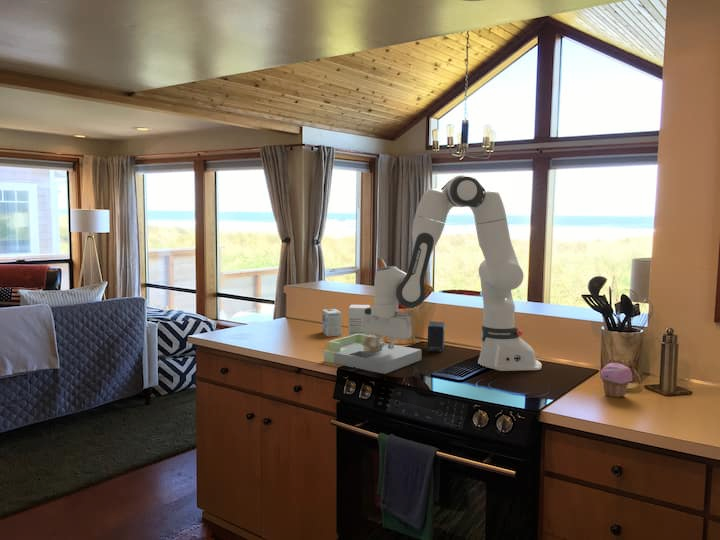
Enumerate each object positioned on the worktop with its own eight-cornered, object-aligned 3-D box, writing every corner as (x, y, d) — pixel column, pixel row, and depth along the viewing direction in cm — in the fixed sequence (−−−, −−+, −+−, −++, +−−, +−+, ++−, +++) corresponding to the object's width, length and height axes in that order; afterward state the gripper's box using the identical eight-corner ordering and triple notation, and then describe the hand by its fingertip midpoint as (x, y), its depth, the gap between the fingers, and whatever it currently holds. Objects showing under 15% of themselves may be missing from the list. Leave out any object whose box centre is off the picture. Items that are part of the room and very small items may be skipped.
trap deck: (421, 359, 216) (421, 341, 216) (385, 374, 197) (385, 354, 197) (362, 349, 233) (362, 332, 232) (323, 361, 214) (323, 342, 214)
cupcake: (609, 389, 180) (611, 358, 179) (636, 396, 173) (638, 364, 172) (594, 394, 175) (595, 362, 174) (621, 402, 168) (622, 369, 167)
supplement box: (350, 337, 256) (350, 304, 254) (370, 337, 255) (370, 304, 253) (348, 341, 247) (348, 307, 245) (368, 342, 246) (368, 307, 244)
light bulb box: (322, 332, 267) (321, 309, 266) (335, 331, 269) (335, 308, 268) (327, 336, 257) (327, 313, 256) (342, 335, 259) (342, 312, 258)
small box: (443, 352, 229) (443, 326, 227) (426, 351, 230) (427, 325, 229) (444, 346, 239) (445, 321, 238) (429, 345, 240) (429, 320, 239)
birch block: (382, 349, 215) (381, 336, 214) (374, 352, 211) (374, 338, 210) (371, 348, 218) (371, 335, 217) (363, 350, 214) (363, 337, 213)
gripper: (415, 312, 205) (414, 350, 207) (368, 306, 217) (368, 342, 219) (405, 314, 200) (405, 353, 202) (358, 309, 212) (358, 345, 214)
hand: (386, 347), depth 210 cm, fingers open, 3 cm apart
